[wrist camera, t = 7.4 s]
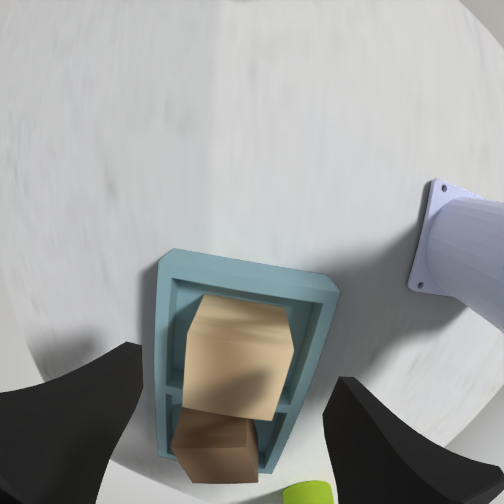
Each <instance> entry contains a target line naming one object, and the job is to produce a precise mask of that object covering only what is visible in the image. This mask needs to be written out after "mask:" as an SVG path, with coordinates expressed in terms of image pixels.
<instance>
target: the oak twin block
mask: <svg viewBox="0 0 504 504" xmlns="http://www.w3.org/2000/svg"><path fill="white" fill-rule="evenodd" d="M293 353H294V347H293V343H292V338H291V333H290V328H289V324H288V319H287V314H286V310H285V307H282V306H276V305H269V304H263V303H257V302H251V301H245V300H239V299H233V298H228V297H222V296H217V295H211V294H206V293H205V294H204V297H203V299H202V301H201V303H200V306H199V308H198V310H197V312H196V315H195V317H194V319H193V321H192V324H191V326H190V328H189V331H188V333H187V343H186V356H185V369H184V385H183V402H182V407H185V408H190V409H195V410H200V411H205V412H210V413H216V414H222V415H229V416H235V417H242V418H250V419H259V420H268V421H272V419H273V416H274V413H275V410H276V407H277V404H278V401H279V398H280V395H281V392H282V389H283V385H284V382H285V379H286V376H287V373H288V369H289V366H290V363H291V360H292V356H293Z"/></svg>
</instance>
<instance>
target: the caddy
mask: <svg viewBox="0 0 504 504" xmlns="http://www.w3.org/2000/svg"><path fill="white" fill-rule="evenodd" d="M205 293H206V294H211V295H217V296H222V297H228V298H233V299H239V300H245V301H251V302H257V303H263V304H269V305H276V306H282V307H285V310H286V314H287V319H288V324H289V328H290V333H291V338H292V343H293V347H294V353H293V356H292V360H291V363H290V366H289V369H288V373H287V376H286V379H285V382H284V385H283V389H282V392H281V395H280V398H279V401H278V404H277V407H276V410H275V413H274V416H273V419H272V421H268V420H259V419H254V422H255V426H256V430H257V434H258V473H267V474H272V472H273V470H274V468H275V466H276V464H277V462H278V460H279V458H280V455H281V453H282V451H283V449H284V447H285V444H286V442H287V440H288V438H289V435H290V433H291V431H292V428H293V426H294V424H295V421H296V419H297V417H298V414H299V412H300V409H301V407H302V404H303V402H304V399H305V397H306V394H307V391H308V389H309V386H310V383H311V381H312V378H313V375H314V373H315V370H316V367H317V364H318V361H319V359H320V356H321V353H322V350H323V347H324V344H325V341H326V338H327V335H328V332H329V328H330V325H331V322H332V319H333V316H334V312H335V309H336V306H337V302H338V299H339V295H340V291H339V289H338V288H337V287H336V285H335V284H334V283H333V281H332V280H331V278H330V277H329V276H328V275H325V274H319V273H313V272H307V271H301V270H295V269H289V268H283V267H277V266H271V265H266V264H260V263H254V262H248V261H242V260H237V259H231V258H225V257H220V256H214V255H208V254H203V253H197V252H192V251H186V250H180V249H175V248H173V249H172V250H171V251H170V252H169V253H168V254H166V255H165V256H164V257H163V258H162V259H161V260H159V266H158V279H157V294H156V314H155V352H154V377H155V413H156V431H157V446H158V456H160V457H164V458H168V459H173V460H177V461H178V459H177V458H176V456H175V454H174V453H173V451H172V449H171V448H170V447H171V444H172V441H173V437H174V434H175V430H176V427H177V424H178V420H179V417H180V414H181V411H182V402H183V385H184V369H185V356H186V343H187V333H188V331H189V328H190V326H191V324H192V321H193V319H194V317H195V315H196V312H197V310H198V308H199V306H200V303H201V301H202V299H203V297H204V294H205Z"/></svg>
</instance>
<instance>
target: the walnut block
mask: <svg viewBox="0 0 504 504" xmlns="http://www.w3.org/2000/svg"><path fill="white" fill-rule="evenodd" d="M170 448H171V449H172V451H173V453H174V454H175V456H176V458H177V459H178V461H179V463H180V464H181V466H182V467H183V469H184V471H185V472H186V474H187V475H188V477H189V478H190V480H191V481H192V483H205V484H236V483H257V482H258V434H257V430H256V426H255V422H254V419H250V418H242V417H235V416H229V415H222V414H216V413H210V412H205V411H200V410H195V409H190V408H185V407H182V411H181V414H180V417H179V420H178V424H177V427H176V430H175V434H174V437H173V441H172V444H171V447H170Z"/></svg>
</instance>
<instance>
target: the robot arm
mask: <svg viewBox="0 0 504 504" xmlns="http://www.w3.org/2000/svg"><path fill="white" fill-rule="evenodd" d="M442 185H443V186H444V190H443V191H442V188H441V187H442ZM420 282H421V285H420V286H419V287H418V284H419V283H420ZM408 288H409V289H410V290H412V291H416V292H423V293H429V294H436V295H443V296H450V297H455V298H456V299H457V300H459V301H460V302H462V303H463V304H465V305H466V306H468V307H469V308H470V309H472V310H473V311H475V312H476V313H477V314H479V315H480V316H482V317H483V318H484V319H486V320H487V321H488V322H490V323H491V324H492V325H494V326H495V327H496V328H498V329H499V330H500V331H502V332H503V333H504V203H502V202H497V201H491V200H487V199H485V198H483V197H480V196H478V195H476V194H474V193H472V192H469V191H467V190H465V189H462V188H460V187H458V186H455V185H453V184H451V183H448V182H446V181H443V180H441V179H434V180H433V181H432V183H431V187H430V193H429V198H428V204H427V209H426V214H425V219H424V223H423V228H422V232H421V236H420V240H419V244H418V248H417V252H416V256H415V259H414V263H413V267H412V270H411V273H410V277H409V280H408ZM142 389H143V368H142V345H138V344H134V343H130V342H125V343H123V344H121V345H120V346H118V347H116V348H115V349H113V350H111V351H109V352H108V353H106V354H104V355H103V356H101V357H99V358H97V359H95V360H94V361H92V362H90V363H88V364H86V365H84V366H82V367H80V368H78V369H76V370H74V371H72V372H70V373H68V374H66V375H64V376H61V377H59V378H56V379H54V380H51V381H48V382H45V383H42V384H39V385H36V386H32V387H27V388H24V389H19V390H15V391H9V392H2V393H0V504H95V503H96V499H97V495H98V492H99V489H100V485H101V482H102V479H103V476H104V473H105V470H106V467H107V464H108V462H109V459H110V457H111V455H112V452H113V450H114V448H115V446H116V445H117V443H118V441H119V439H120V437H121V435H122V433H123V431H124V429H125V428H126V426H127V424H128V422H129V420H130V418H131V416H132V414H133V412H134V410H135V408H136V406H137V403H138V400H139V398H140V395H141V392H142ZM323 426H324V435H325V440H326V444H327V448H328V453H329V457H330V461H331V465H332V469H333V473H334V477H335V481H336V486H337V493H338V503H339V504H489V503H490V502H491V501H492V500H493V499H494V498H496V497H497V496H498V495H499V494H500V493H501V492H502V491H503V490H504V473H503V472H502V470H501V468H500V467H499V466H495V465H490V464H486V463H482V462H478V461H474V460H471V459H469V458H466V457H463V456H460V455H458V454H456V453H453V452H451V451H449V450H447V449H445V448H443V447H441V446H439V445H437V444H435V443H434V442H432V441H430V440H428V439H427V438H425V437H424V436H422V435H421V434H419V433H418V432H416V431H415V430H413V429H412V428H411V427H409V426H408V425H407V424H406V423H404V422H403V421H402V420H401V419H399V418H398V417H397V416H396V415H395V414H393V413H392V412H391V411H390V410H389V409H388V408H387V407H386V406H385V405H383V404H382V403H381V402H380V401H379V400H378V399H377V398H376V397H375V396H374V395H373V394H372V393H371V392H370V391H369V390H368V389H367V388H366V387H364V386H363V385H362V384H361V383H360V382H359V381H358V380H357V379H356V378H354V377H340V376H339V378H338V381H337V383H336V385H335V388H334V390H333V392H332V395H331V397H330V399H329V401H328V404H327V406H326V408H325V410H324V412H323Z"/></svg>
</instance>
